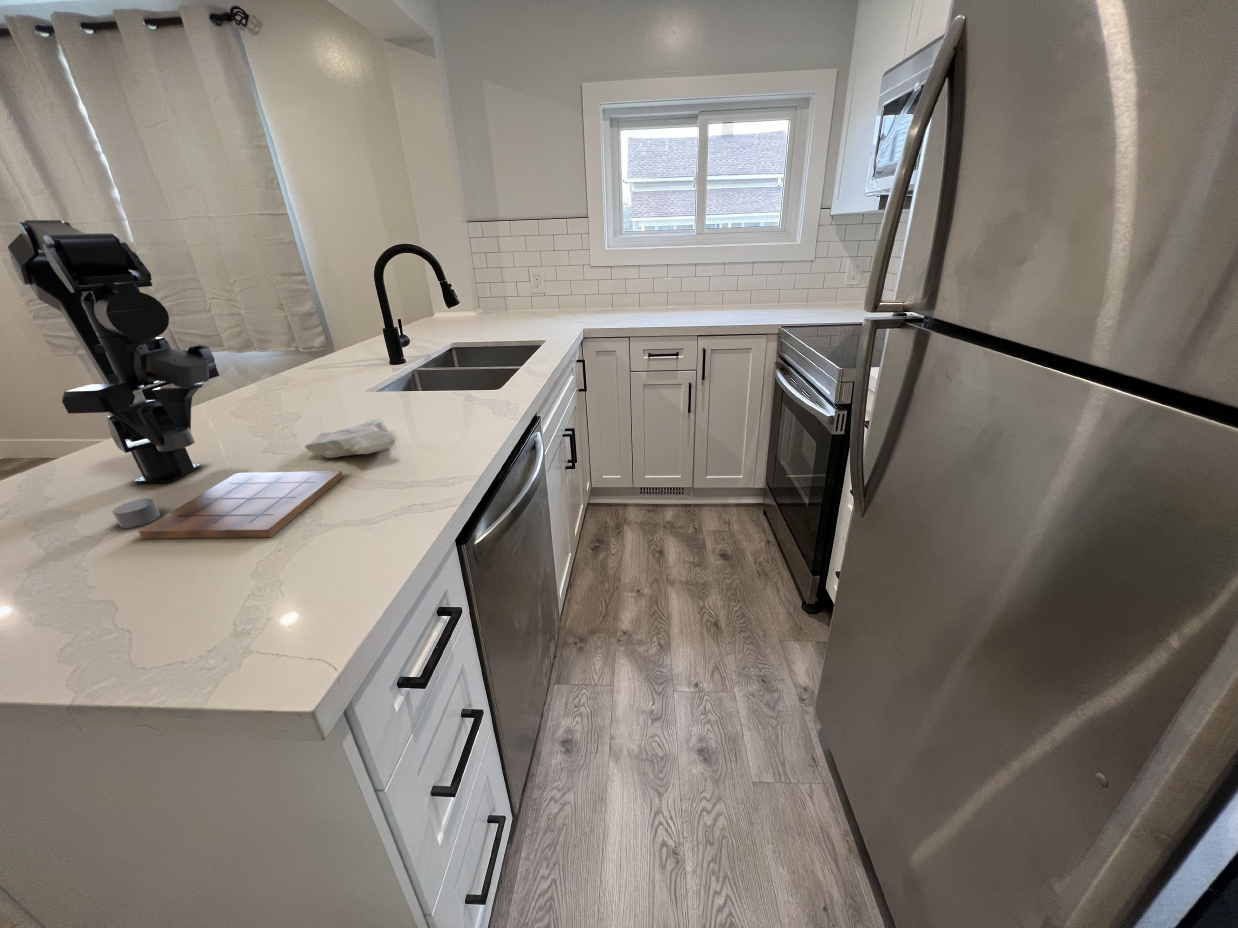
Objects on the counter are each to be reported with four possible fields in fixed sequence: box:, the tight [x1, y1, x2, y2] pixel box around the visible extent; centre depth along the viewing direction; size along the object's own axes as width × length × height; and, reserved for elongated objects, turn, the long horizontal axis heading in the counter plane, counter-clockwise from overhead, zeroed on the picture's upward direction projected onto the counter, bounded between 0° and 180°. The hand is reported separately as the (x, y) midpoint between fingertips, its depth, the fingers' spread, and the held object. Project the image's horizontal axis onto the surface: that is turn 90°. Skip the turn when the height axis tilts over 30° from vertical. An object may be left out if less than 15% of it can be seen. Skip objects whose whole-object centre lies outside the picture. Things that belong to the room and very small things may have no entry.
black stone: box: [156, 426, 196, 451], centre depth 75 cm, size 4×4×2 cm
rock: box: [304, 417, 396, 459], centre depth 92 cm, size 21×5×15 cm
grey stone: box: [112, 497, 161, 529], centre depth 71 cm, size 4×4×2 cm
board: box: [138, 470, 344, 540], centre depth 74 cm, size 18×18×1 cm
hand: (173, 439), depth 75 cm, fingers closed on black stone, 4 cm apart
